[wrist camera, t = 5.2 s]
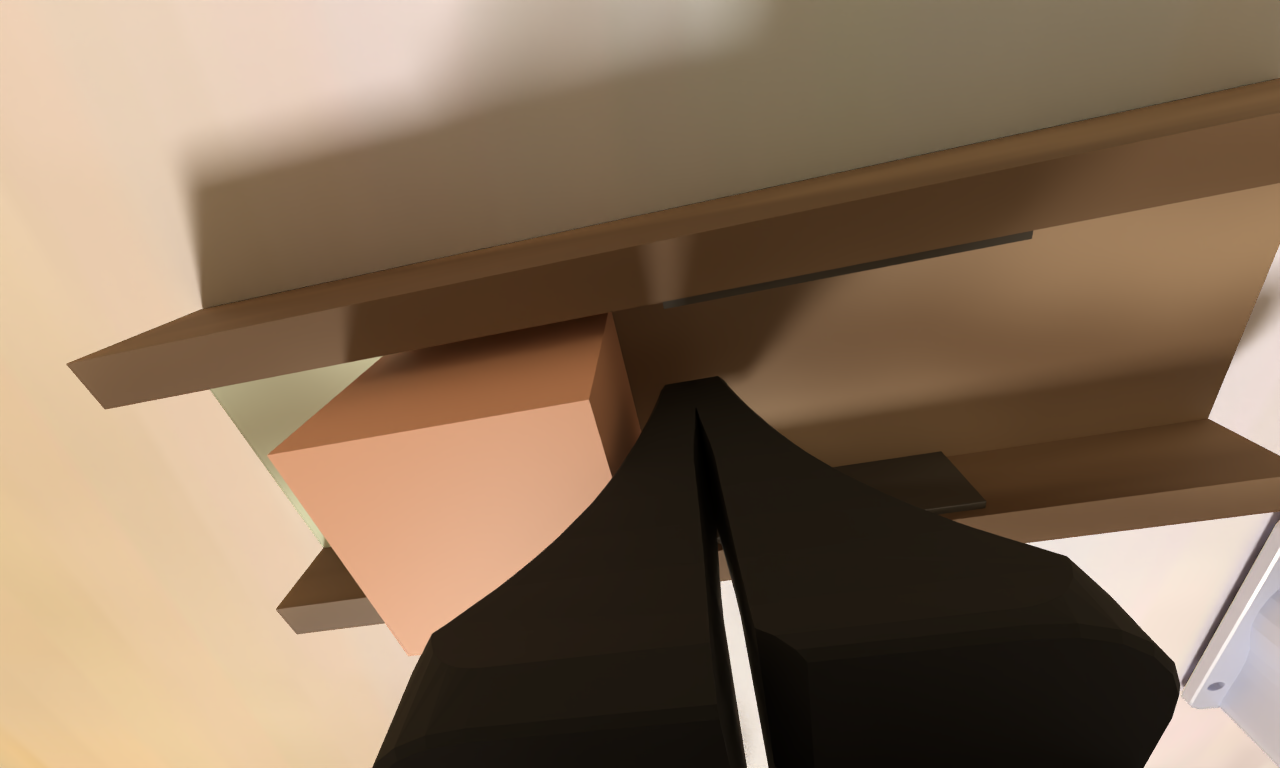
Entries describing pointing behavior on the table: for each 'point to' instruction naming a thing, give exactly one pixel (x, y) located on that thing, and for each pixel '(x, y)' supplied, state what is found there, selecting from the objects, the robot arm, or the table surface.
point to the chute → (855, 325)
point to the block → (462, 463)
